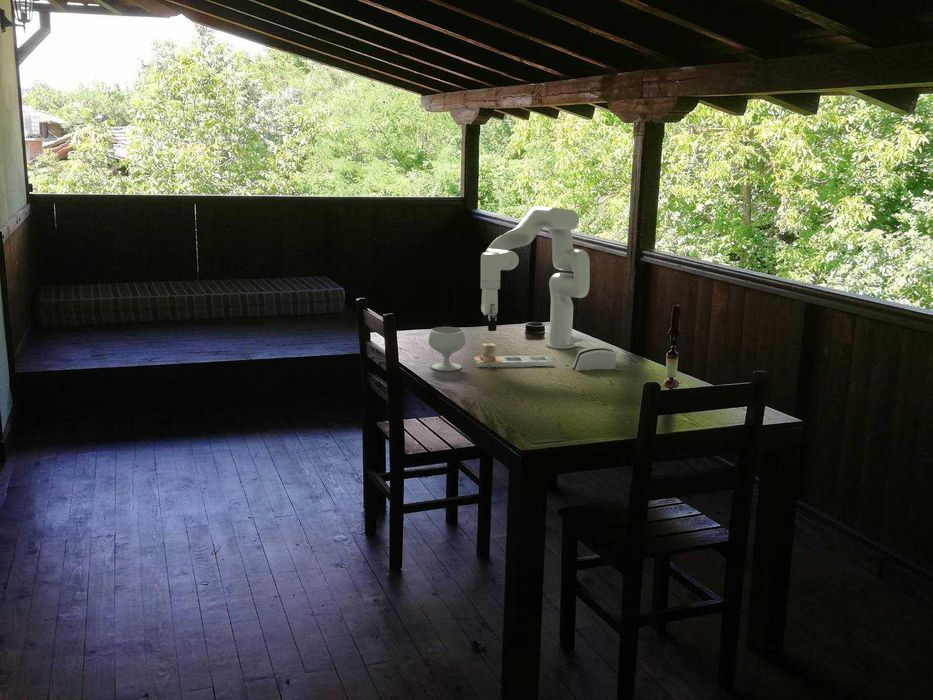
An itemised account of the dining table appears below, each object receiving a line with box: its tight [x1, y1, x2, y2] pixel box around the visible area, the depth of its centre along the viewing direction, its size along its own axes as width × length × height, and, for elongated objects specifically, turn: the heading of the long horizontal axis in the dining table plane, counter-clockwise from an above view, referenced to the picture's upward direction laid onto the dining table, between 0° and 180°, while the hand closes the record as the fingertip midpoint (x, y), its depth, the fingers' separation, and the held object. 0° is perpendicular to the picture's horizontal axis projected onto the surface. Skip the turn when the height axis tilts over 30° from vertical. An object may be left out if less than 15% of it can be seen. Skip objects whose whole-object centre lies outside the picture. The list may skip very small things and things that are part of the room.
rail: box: [473, 354, 555, 369], centre depth 345 cm, size 30×10×2 cm, turn 99°
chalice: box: [428, 326, 466, 372], centre depth 335 cm, size 14×14×15 cm
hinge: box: [571, 346, 617, 371], centre depth 338 cm, size 17×5×10 cm, turn 106°
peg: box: [481, 342, 497, 361], centre depth 343 cm, size 4×4×8 cm
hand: (489, 328), depth 340 cm, fingers open, 9 cm apart
